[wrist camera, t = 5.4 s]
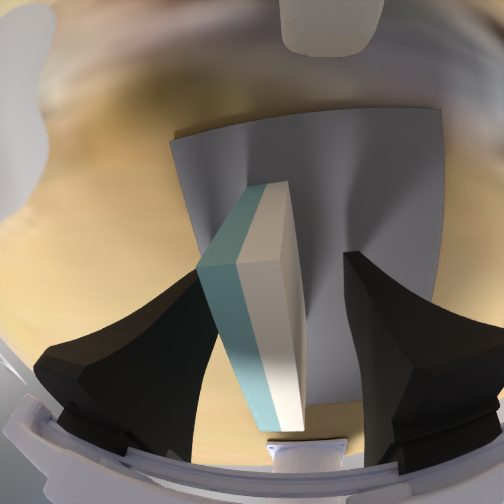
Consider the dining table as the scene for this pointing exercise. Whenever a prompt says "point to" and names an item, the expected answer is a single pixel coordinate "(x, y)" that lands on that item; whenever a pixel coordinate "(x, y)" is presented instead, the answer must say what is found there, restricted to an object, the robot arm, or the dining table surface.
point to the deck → (261, 304)
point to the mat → (331, 209)
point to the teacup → (329, 26)
